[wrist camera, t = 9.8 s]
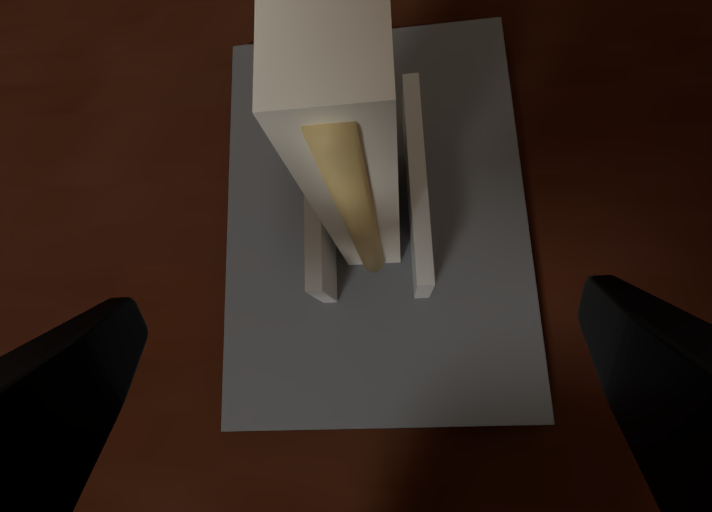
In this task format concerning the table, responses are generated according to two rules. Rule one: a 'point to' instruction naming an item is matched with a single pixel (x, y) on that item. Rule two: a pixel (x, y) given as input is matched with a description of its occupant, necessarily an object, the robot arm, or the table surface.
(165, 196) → the table surface
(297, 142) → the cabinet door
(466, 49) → the grey base plate
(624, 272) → the table surface
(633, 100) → the table surface
